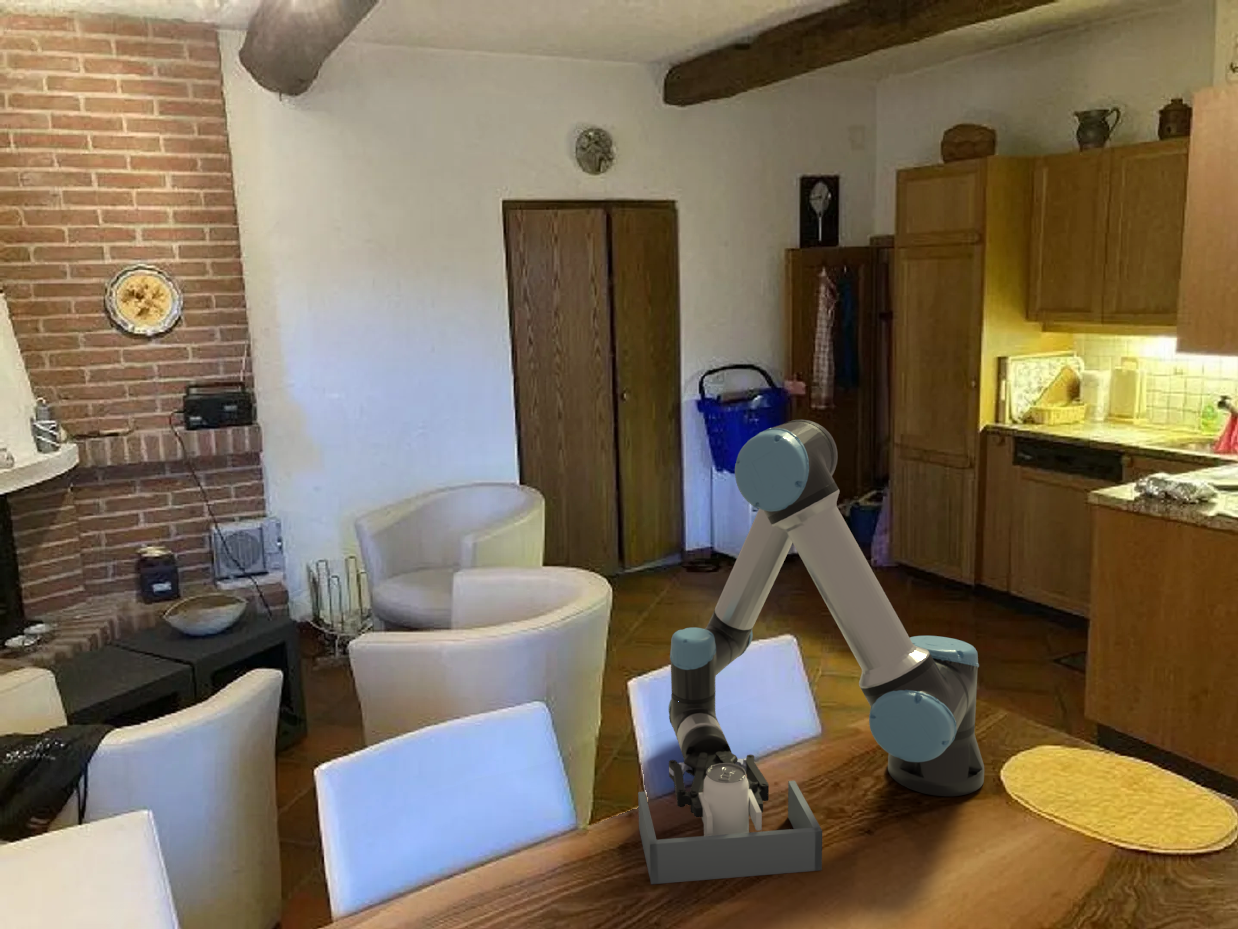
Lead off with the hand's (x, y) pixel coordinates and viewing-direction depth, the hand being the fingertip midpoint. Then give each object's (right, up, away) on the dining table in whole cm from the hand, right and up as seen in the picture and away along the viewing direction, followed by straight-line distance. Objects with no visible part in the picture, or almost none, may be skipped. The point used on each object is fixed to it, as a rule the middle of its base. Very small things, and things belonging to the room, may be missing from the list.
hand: (734, 823), depth 136 cm
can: (0, -6, +6) cm, 9 cm away
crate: (0, -6, +6) cm, 9 cm away
